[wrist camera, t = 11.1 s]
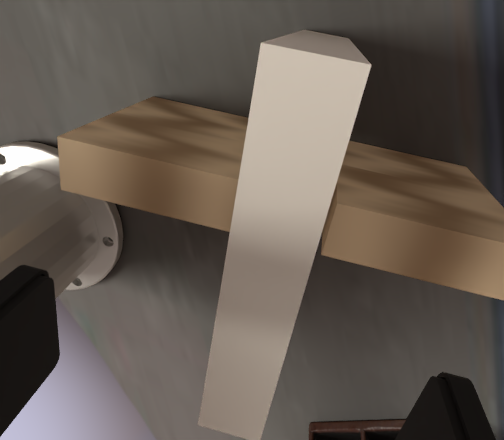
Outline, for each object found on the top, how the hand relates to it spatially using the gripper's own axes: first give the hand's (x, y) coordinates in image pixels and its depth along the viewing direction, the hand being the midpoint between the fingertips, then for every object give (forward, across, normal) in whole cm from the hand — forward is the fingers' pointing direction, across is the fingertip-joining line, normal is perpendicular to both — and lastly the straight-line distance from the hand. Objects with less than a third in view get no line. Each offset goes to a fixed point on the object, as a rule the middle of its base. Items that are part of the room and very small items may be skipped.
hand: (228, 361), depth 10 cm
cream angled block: (+18, -1, 0) cm, 18 cm away
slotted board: (+18, -1, 0) cm, 18 cm away
